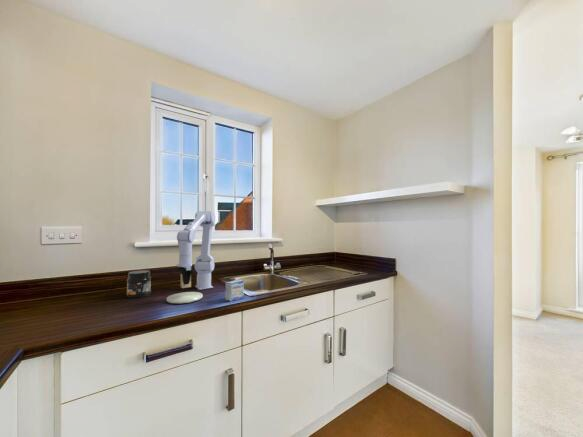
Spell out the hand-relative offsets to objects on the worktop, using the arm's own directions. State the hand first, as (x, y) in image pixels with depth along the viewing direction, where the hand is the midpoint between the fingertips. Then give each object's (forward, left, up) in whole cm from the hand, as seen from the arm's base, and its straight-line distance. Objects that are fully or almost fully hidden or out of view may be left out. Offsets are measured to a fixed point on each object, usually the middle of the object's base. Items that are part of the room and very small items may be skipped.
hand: (185, 283), depth 119 cm
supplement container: (-21, -18, -8) cm, 29 cm away
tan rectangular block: (0, 0, -2) cm, 2 cm away
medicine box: (+13, +20, -8) cm, 25 cm away
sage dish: (0, 0, -8) cm, 8 cm away
